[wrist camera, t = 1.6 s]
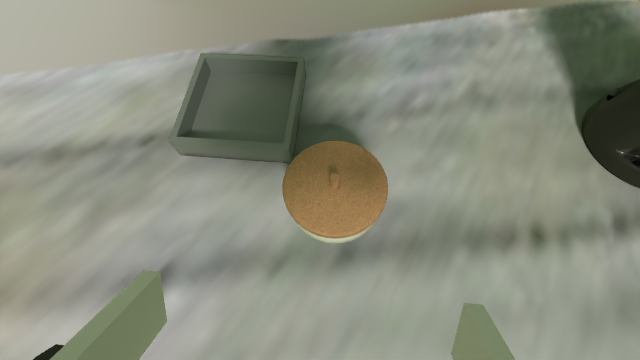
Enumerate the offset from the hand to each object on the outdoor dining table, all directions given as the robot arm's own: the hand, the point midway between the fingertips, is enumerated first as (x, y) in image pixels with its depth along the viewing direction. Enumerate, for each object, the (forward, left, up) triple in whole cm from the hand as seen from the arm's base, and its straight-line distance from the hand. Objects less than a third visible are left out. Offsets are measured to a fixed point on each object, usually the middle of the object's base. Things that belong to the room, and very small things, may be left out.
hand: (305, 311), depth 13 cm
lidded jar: (0, -12, -22) cm, 25 cm away
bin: (+14, -26, -21) cm, 37 cm away
